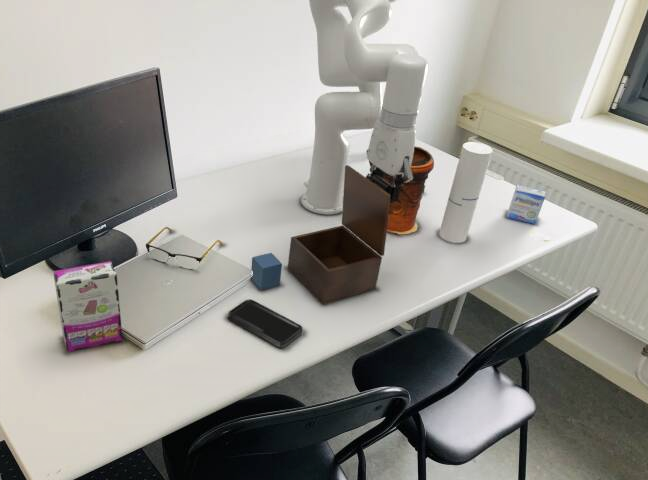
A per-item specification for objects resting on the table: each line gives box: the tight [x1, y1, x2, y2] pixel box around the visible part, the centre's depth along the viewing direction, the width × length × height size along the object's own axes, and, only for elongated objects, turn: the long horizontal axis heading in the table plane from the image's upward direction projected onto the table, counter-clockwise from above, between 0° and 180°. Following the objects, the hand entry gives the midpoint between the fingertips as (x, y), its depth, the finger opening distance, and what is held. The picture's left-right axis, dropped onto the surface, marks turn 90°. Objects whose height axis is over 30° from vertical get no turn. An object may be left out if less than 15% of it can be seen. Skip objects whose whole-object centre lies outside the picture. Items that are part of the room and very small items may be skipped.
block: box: [250, 252, 283, 291], centre depth 150 cm, size 5×5×6 cm
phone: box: [227, 299, 303, 349], centre depth 138 cm, size 8×1×15 cm
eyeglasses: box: [145, 226, 224, 263], centre depth 158 cm, size 14×14×4 cm
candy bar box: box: [52, 261, 123, 353], centre depth 126 cm, size 11×5×16 cm, turn 114°
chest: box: [287, 224, 383, 305], centre depth 152 cm, size 15×16×9 cm
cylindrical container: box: [438, 141, 494, 244], centre depth 167 cm, size 7×7×25 cm
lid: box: [341, 164, 391, 257], centre depth 148 cm, size 16×16×6 cm
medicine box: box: [506, 184, 547, 225], centre depth 183 cm, size 8×4×9 cm, turn 68°
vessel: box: [381, 146, 435, 236], centre depth 172 cm, size 14×14×20 cm
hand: (382, 194), depth 147 cm, fingers closed on lid, 5 cm apart
